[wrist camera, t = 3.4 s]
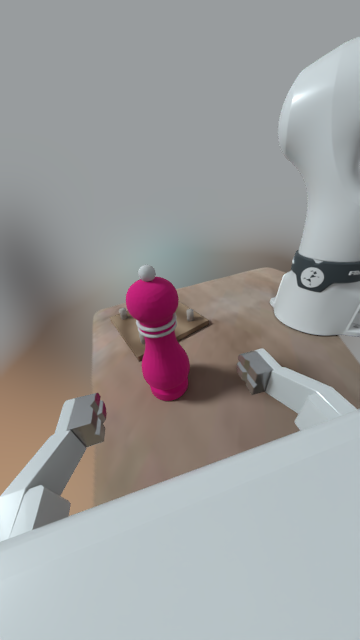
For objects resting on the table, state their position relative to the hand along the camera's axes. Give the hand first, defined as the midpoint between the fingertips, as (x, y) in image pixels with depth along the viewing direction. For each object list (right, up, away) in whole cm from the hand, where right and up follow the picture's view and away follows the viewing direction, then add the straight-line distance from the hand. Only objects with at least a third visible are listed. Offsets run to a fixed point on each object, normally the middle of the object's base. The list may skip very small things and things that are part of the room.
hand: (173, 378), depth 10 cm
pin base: (-5, +3, +34) cm, 35 cm away
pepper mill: (-1, -7, +20) cm, 21 cm away
